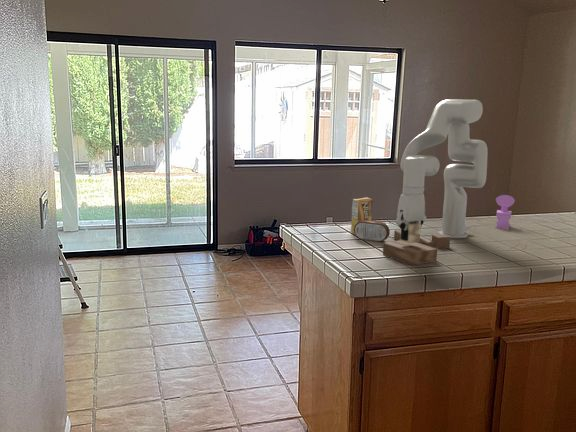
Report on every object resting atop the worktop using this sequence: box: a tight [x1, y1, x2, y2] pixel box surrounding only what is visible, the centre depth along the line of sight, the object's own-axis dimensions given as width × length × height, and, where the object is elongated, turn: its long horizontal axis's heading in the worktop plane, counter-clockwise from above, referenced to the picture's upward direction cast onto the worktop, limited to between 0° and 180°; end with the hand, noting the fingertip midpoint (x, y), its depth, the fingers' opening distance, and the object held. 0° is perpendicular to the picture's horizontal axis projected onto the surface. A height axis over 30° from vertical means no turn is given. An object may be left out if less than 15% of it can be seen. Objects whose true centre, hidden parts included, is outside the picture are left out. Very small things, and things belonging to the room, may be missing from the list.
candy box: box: [350, 197, 373, 235], centre depth 240 cm, size 9×4×15 cm, turn 129°
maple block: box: [400, 222, 422, 243], centre depth 201 cm, size 5×5×7 cm
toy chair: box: [495, 194, 516, 230], centre depth 256 cm, size 8×9×15 cm
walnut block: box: [382, 240, 438, 266], centre depth 203 cm, size 12×16×5 cm
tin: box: [354, 220, 391, 243], centre depth 227 cm, size 15×3×8 cm, turn 65°
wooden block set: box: [393, 229, 451, 249], centre depth 224 cm, size 17×6×18 cm
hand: (409, 238), depth 202 cm, fingers closed on maple block, 5 cm apart
